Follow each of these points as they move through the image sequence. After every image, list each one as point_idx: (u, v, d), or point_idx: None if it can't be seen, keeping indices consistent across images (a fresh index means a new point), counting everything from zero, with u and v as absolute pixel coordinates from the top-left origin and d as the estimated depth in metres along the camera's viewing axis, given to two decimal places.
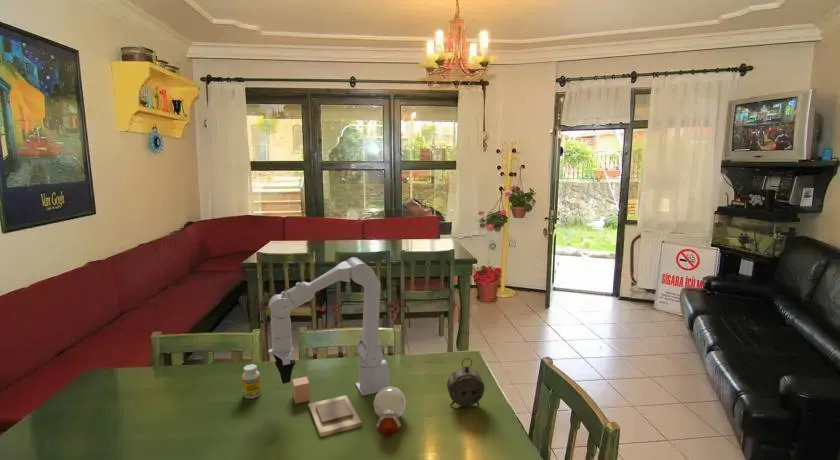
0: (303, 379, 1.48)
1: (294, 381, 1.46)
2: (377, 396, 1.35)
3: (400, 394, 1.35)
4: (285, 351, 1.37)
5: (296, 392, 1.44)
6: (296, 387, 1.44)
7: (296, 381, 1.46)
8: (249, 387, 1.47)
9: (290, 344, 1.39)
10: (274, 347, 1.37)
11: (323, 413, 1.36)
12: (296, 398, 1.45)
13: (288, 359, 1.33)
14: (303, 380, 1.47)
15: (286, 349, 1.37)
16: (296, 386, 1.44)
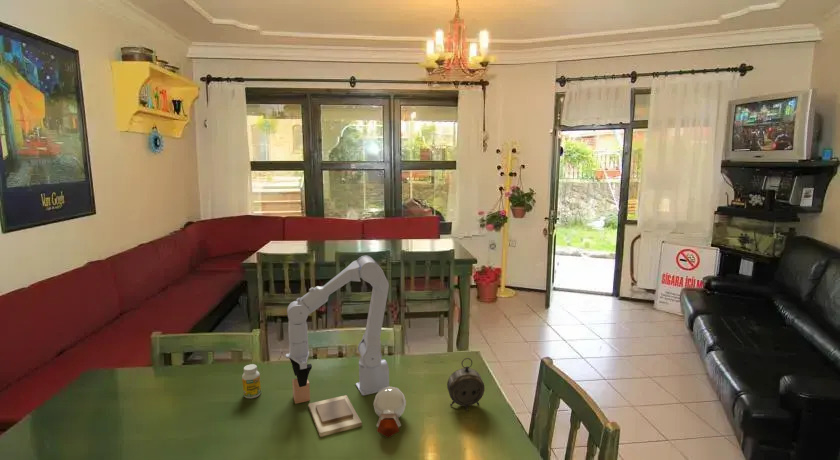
0: None
1: (294, 381, 1.46)
2: (377, 396, 1.35)
3: (400, 394, 1.35)
4: (302, 356, 1.42)
5: (296, 392, 1.44)
6: (296, 387, 1.44)
7: (296, 381, 1.46)
8: (249, 387, 1.47)
9: (307, 349, 1.44)
10: (291, 352, 1.42)
11: (323, 413, 1.36)
12: (296, 398, 1.45)
13: (305, 363, 1.39)
14: None
15: (302, 354, 1.42)
16: (296, 386, 1.44)
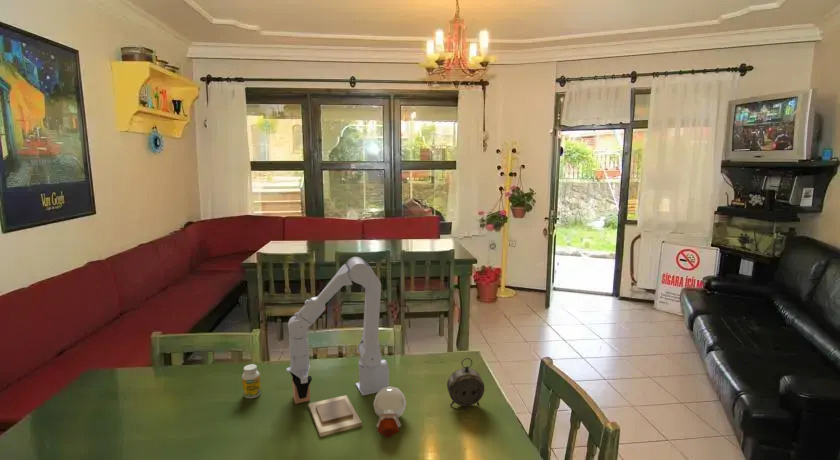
0: None
1: None
2: (377, 396, 1.35)
3: (400, 394, 1.35)
4: (303, 370, 1.43)
5: (296, 392, 1.44)
6: (296, 387, 1.44)
7: None
8: (249, 387, 1.47)
9: (307, 363, 1.45)
10: (292, 366, 1.43)
11: (323, 413, 1.36)
12: (296, 398, 1.45)
13: (306, 378, 1.40)
14: None
15: (303, 368, 1.43)
16: None
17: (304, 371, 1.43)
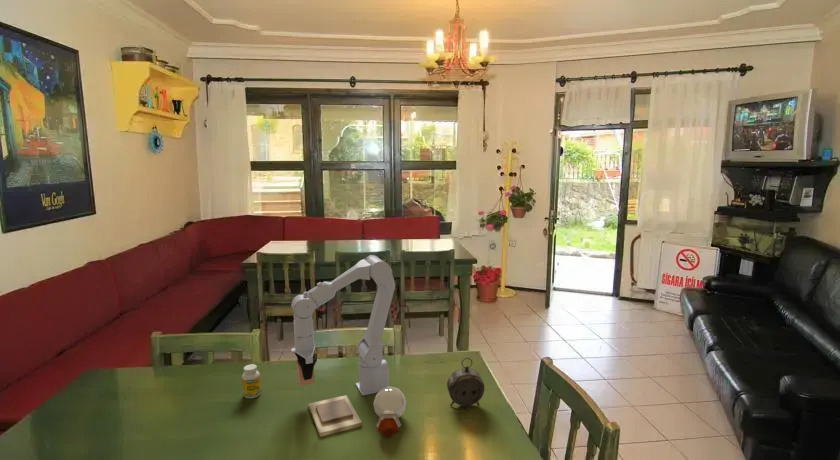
0: None
1: (298, 363, 1.43)
2: (377, 396, 1.35)
3: (400, 394, 1.35)
4: (308, 350, 1.40)
5: (300, 374, 1.41)
6: (300, 369, 1.41)
7: None
8: (249, 387, 1.47)
9: (312, 343, 1.42)
10: (297, 346, 1.40)
11: (323, 413, 1.36)
12: (300, 380, 1.41)
13: (311, 358, 1.36)
14: None
15: (308, 348, 1.40)
16: (300, 368, 1.41)
17: (309, 352, 1.40)
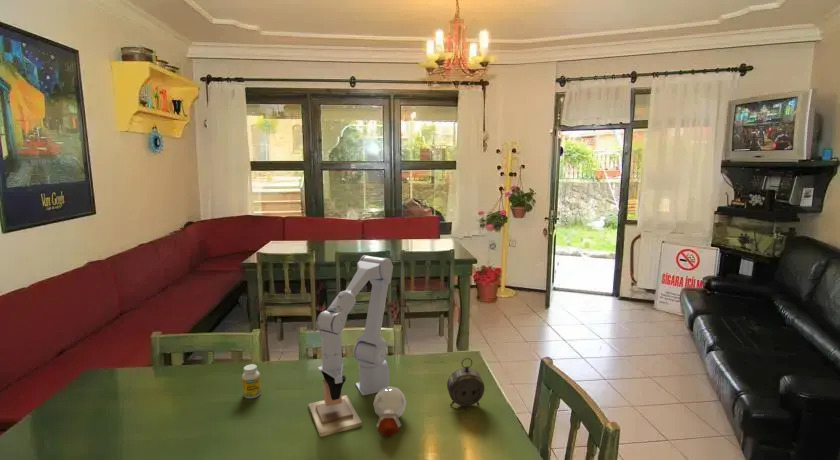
0: None
1: (325, 382, 1.36)
2: (377, 396, 1.35)
3: (400, 394, 1.35)
4: (336, 369, 1.33)
5: (327, 394, 1.34)
6: (327, 389, 1.33)
7: None
8: (249, 387, 1.47)
9: (341, 361, 1.34)
10: (325, 364, 1.32)
11: (323, 413, 1.36)
12: (327, 400, 1.34)
13: (340, 377, 1.29)
14: None
15: (337, 367, 1.33)
16: (327, 387, 1.33)
17: (337, 370, 1.33)
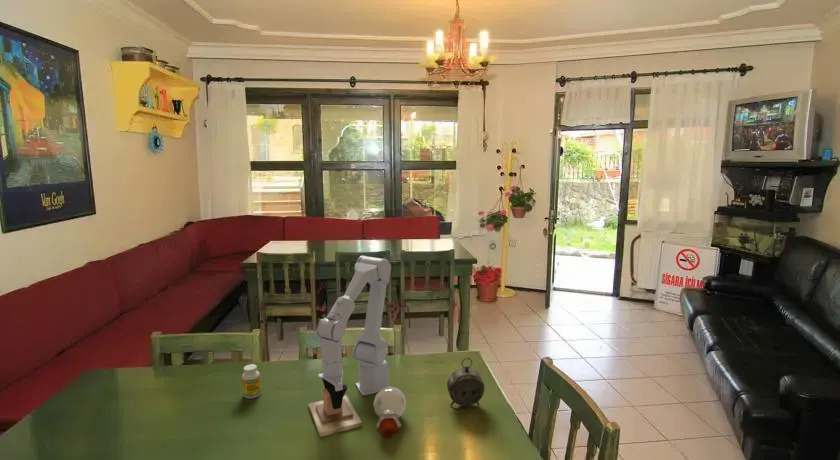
0: None
1: (325, 391, 1.36)
2: (377, 396, 1.35)
3: (400, 394, 1.35)
4: (336, 376, 1.33)
5: (328, 403, 1.34)
6: (328, 398, 1.34)
7: (327, 391, 1.36)
8: (249, 387, 1.47)
9: (341, 368, 1.34)
10: (325, 372, 1.33)
11: (323, 413, 1.36)
12: (328, 410, 1.34)
13: (341, 385, 1.29)
14: None
15: (337, 374, 1.33)
16: (328, 397, 1.34)
17: (338, 377, 1.33)
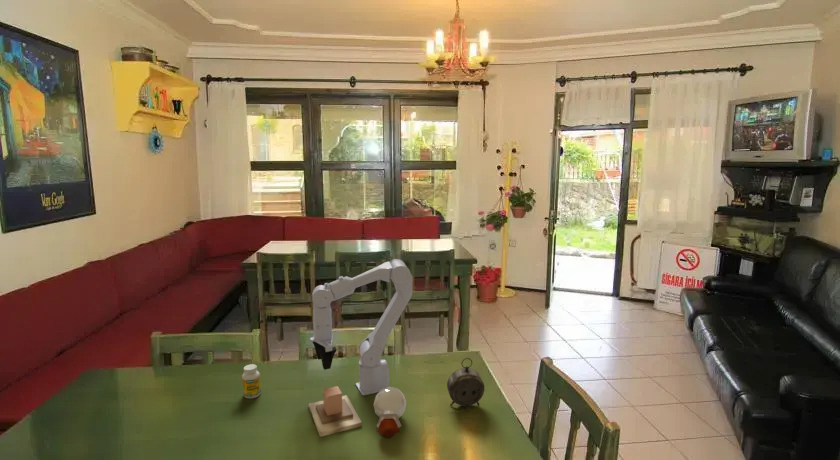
0: (335, 389, 1.37)
1: (325, 391, 1.36)
2: (377, 396, 1.35)
3: (400, 394, 1.35)
4: (326, 339, 1.45)
5: (328, 403, 1.34)
6: (328, 398, 1.34)
7: (327, 391, 1.36)
8: (249, 387, 1.47)
9: (331, 332, 1.46)
10: (316, 335, 1.45)
11: (323, 413, 1.36)
12: (328, 410, 1.34)
13: (330, 346, 1.41)
14: (335, 390, 1.37)
15: (327, 337, 1.45)
16: (328, 397, 1.34)
17: (328, 340, 1.45)
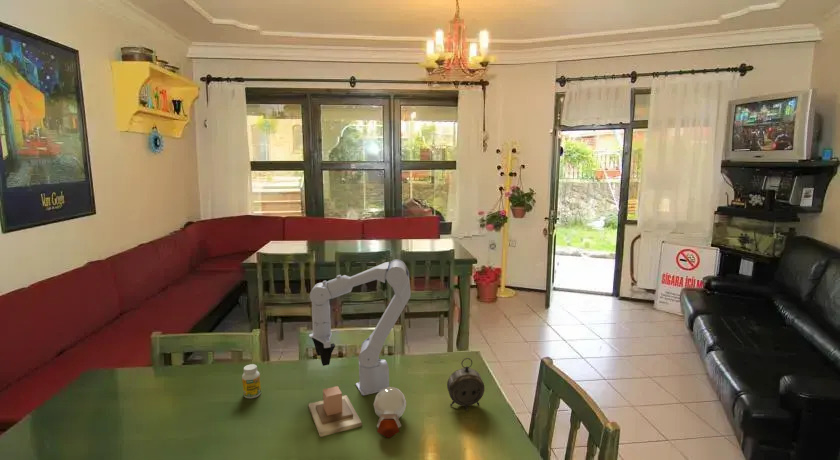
0: (335, 389, 1.37)
1: (325, 391, 1.36)
2: (377, 396, 1.35)
3: (400, 394, 1.35)
4: (325, 335, 1.48)
5: (328, 403, 1.34)
6: (328, 398, 1.34)
7: (327, 391, 1.36)
8: (249, 387, 1.47)
9: (329, 329, 1.49)
10: (315, 332, 1.47)
11: (323, 413, 1.36)
12: (328, 410, 1.34)
13: (329, 342, 1.44)
14: (335, 390, 1.37)
15: (326, 334, 1.48)
16: (328, 397, 1.34)
17: (326, 337, 1.48)
